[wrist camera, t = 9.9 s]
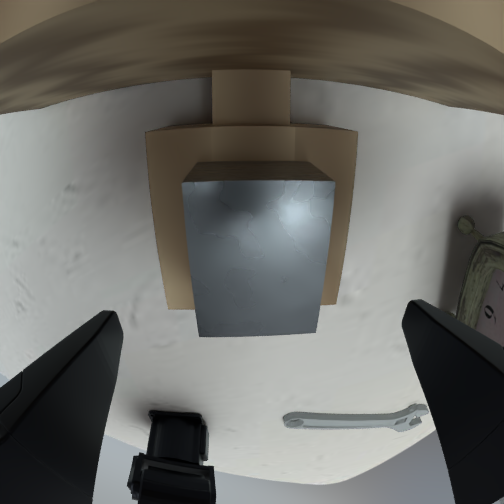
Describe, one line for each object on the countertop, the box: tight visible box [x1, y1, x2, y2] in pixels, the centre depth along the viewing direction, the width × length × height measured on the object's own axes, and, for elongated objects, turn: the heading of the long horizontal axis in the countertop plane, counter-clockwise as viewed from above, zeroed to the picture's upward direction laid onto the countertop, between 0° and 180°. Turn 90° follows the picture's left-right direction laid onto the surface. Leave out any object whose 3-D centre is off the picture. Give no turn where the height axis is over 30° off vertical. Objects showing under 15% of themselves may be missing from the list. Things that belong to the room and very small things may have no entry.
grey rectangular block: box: [182, 161, 336, 337], centre depth 15 cm, size 5×7×8 cm
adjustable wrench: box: [283, 404, 429, 432], centre depth 33 cm, size 25×6×2 cm, turn 67°
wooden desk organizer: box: [0, 0, 504, 309], centre depth 12 cm, size 30×15×14 cm, turn 90°
